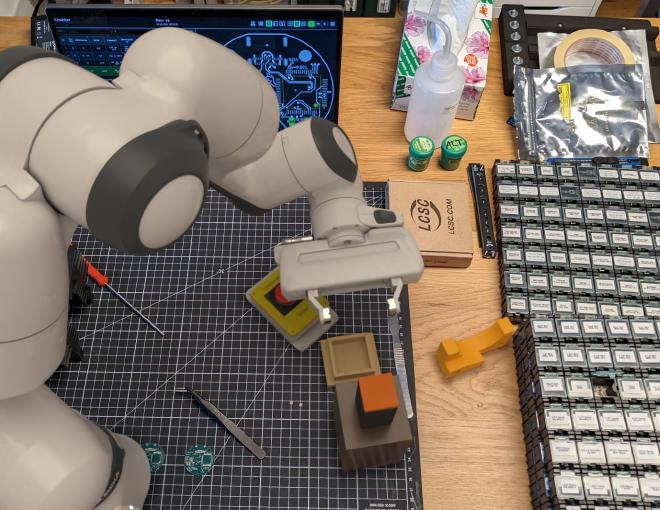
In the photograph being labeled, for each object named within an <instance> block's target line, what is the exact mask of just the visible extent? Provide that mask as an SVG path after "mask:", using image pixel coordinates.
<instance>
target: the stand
mask: <svg viewBox="0 0 660 510" xmlns="http://www.w3.org/2000/svg"><path fill="white" fill-rule="evenodd" d="M392 376H393V381H394V386H395V390H396V395H397V399H398V404H399V406H398V409H397V411H396V414H395V416H394V419H393V421H392V424H389V425H383V426H377V427H371V428H365V429H361V428H360V423H359V417H358V412H357V406H356V401H355V396H356V390H357V384H358V381H353V382H347V383H340V384H335V386H334V390H333V391H334V393H333V407H332V408H333V409H332V416H333V417H332V419H333V425H334V430H335V436H336V443H337V449H338V455H339V461H340V467H341V472H342V473H350V472H355V471H361V470H366V469H367V470H368V469H373V468H379V467H384V466H385V467H386V466H390V465H398V464H400V463H401V462H402V460H403V458H404V456H405V454H406V452H407V451H408V449H409V447H410V446H411V443H412V442H413V440H414V437H413V433H412V428H411V424H410V419H409V415H408V411H407V407H406V402H405V397H404V393H403V387H402V384H401V379H400V374H392Z"/></svg>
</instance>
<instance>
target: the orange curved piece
mask: <svg viewBox="0 0 660 510" xmlns="http://www.w3.org/2000/svg"><path fill="white" fill-rule="evenodd" d="M515 331H516V329H515V328H514V326H513V323H511V320H510V319H509V317H508V316H505V317H502V318H500V319H497V320H496V321H495V322H494V324H491V326H490V327H488V328H487V329H485V330H483V331H482V332H480V333H478V334H476V335H473V336H471V337H469V338H466V339H463V340H458V341H456V340H454V337H449V338H447V339H444V340H441V341H440V342H439V345H438V347H437V349H436V352H435V353H434V357H435V360H436V361H437V363H438V365H439V367H440V369H441V372H442V373H443V376H444V378H445V379H446V380H447V379H450V378H452V377H455V376H457V375H460V374H462V373H465V372H468V371H471V370H473V369H475V368H478V367H481V366H482V365H483V363H484V361H485V359H484V357H483V356H482V354H486V353H488V352H491V351H493V350H495V349H498V348H501V347H504V346H505V345H506V344H507V343H508V341H509V340H510V338H511V337H512V335H514V333H515Z"/></svg>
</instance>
